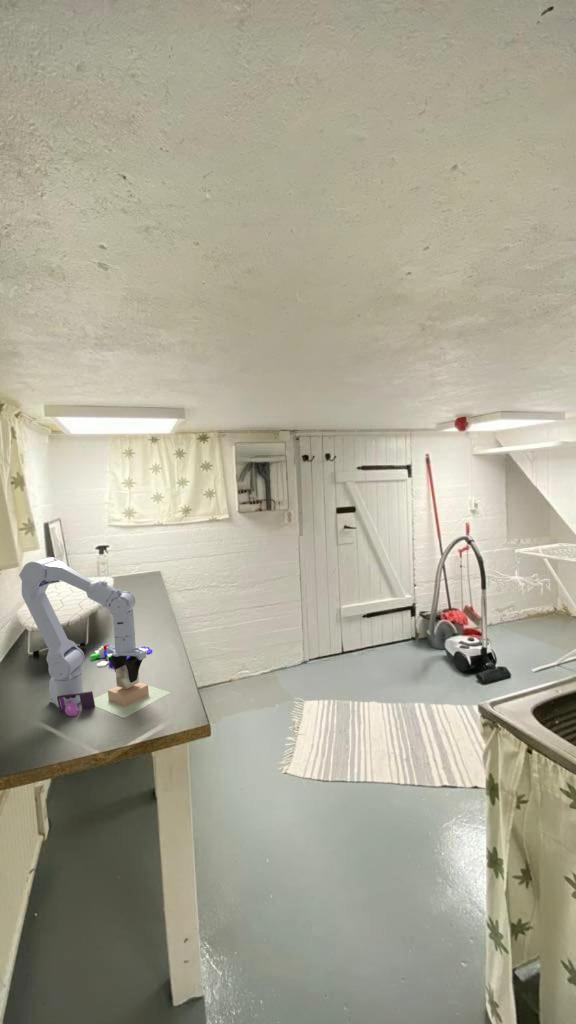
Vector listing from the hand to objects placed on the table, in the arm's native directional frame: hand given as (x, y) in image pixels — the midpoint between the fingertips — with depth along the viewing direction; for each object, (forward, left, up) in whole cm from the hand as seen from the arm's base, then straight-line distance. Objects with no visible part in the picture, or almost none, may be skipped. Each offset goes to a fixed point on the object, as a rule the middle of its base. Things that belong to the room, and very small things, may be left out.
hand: (127, 679), depth 123 cm
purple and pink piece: (-6, -13, -7) cm, 16 cm away
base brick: (0, 0, -5) cm, 5 cm away
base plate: (0, 0, -6) cm, 6 cm away
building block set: (-33, +21, -7) cm, 40 cm away
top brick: (0, 0, -1) cm, 1 cm away
